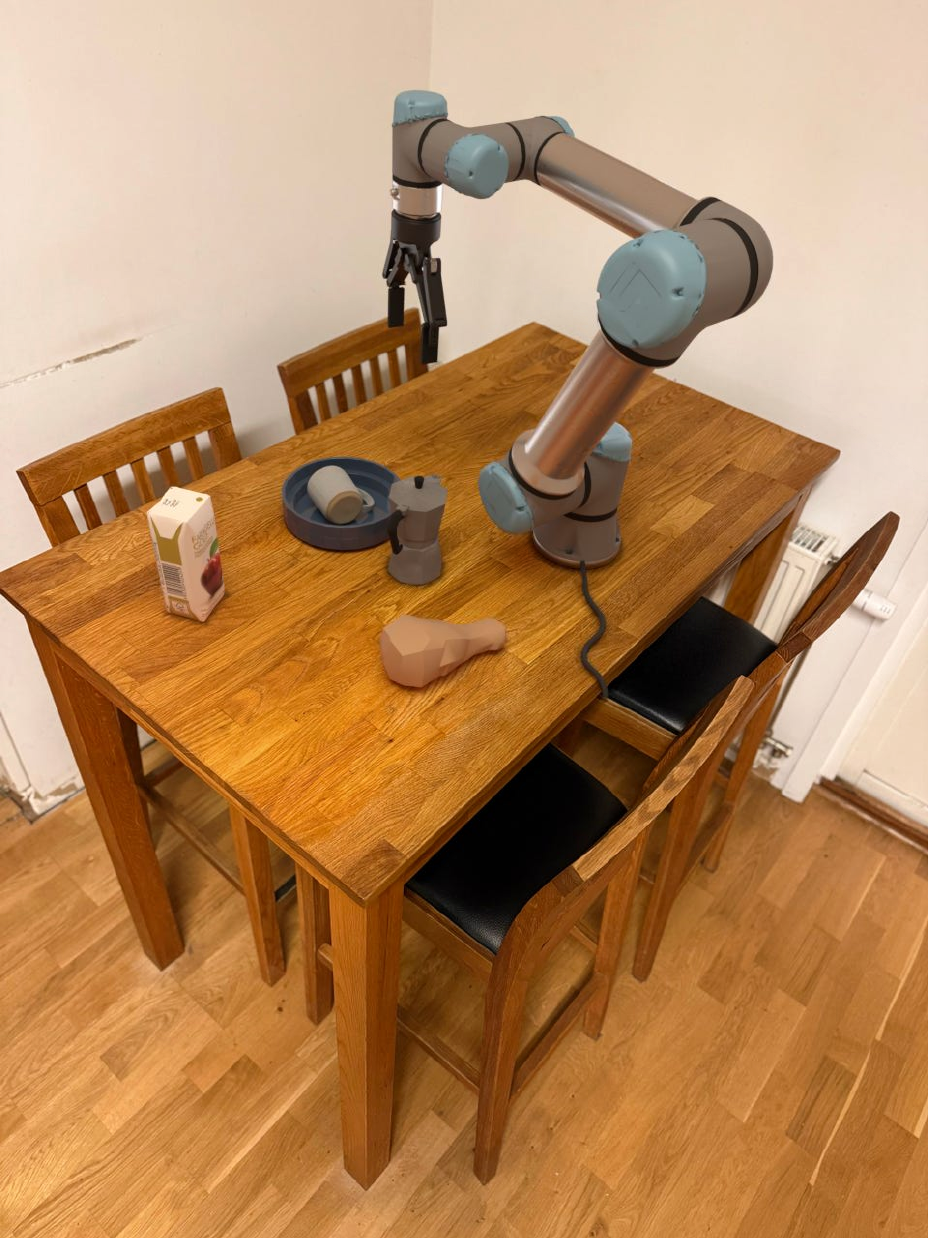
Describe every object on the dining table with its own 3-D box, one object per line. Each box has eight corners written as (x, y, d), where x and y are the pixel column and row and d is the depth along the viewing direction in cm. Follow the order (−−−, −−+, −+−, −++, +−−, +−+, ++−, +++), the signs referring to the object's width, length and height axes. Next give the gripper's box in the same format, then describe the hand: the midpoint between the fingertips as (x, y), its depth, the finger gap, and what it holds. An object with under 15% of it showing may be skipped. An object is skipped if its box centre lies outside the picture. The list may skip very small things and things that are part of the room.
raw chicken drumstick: (363, 662, 130) (365, 610, 126) (476, 634, 140) (483, 585, 136) (397, 703, 123) (401, 648, 118) (515, 670, 133) (523, 619, 128)
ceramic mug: (327, 532, 150) (326, 495, 145) (307, 506, 155) (305, 469, 150) (382, 517, 155) (384, 480, 150) (361, 492, 160) (362, 455, 154)
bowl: (422, 537, 153) (423, 511, 149) (306, 565, 145) (305, 539, 141) (376, 472, 166) (377, 447, 162) (268, 495, 158) (266, 469, 154)
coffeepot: (409, 537, 152) (413, 447, 140) (458, 556, 150) (466, 466, 137) (362, 588, 142) (361, 495, 130) (413, 608, 139) (418, 516, 127)
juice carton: (159, 615, 134) (137, 514, 121) (188, 580, 140) (169, 480, 127) (205, 627, 133) (188, 526, 120) (231, 592, 139) (218, 492, 126)
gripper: (362, 184, 139) (362, 314, 153) (428, 243, 123) (421, 382, 138) (406, 181, 142) (402, 309, 156) (476, 238, 126) (464, 375, 140)
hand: (411, 343), depth 147 cm, fingers open, 13 cm apart
